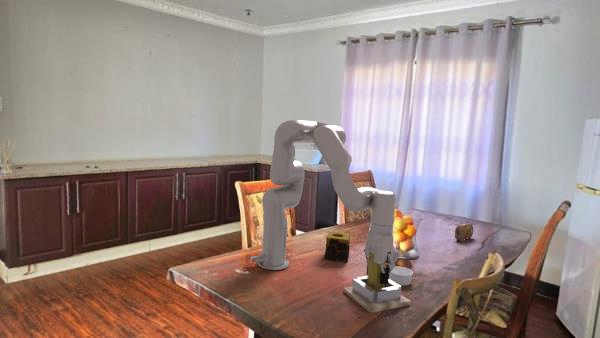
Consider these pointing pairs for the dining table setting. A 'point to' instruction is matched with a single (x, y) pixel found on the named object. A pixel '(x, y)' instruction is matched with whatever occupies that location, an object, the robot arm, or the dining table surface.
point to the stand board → (373, 306)
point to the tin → (463, 231)
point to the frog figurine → (395, 255)
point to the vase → (374, 274)
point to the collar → (376, 291)
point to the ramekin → (401, 275)
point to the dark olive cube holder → (337, 246)
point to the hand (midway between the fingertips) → (377, 278)
